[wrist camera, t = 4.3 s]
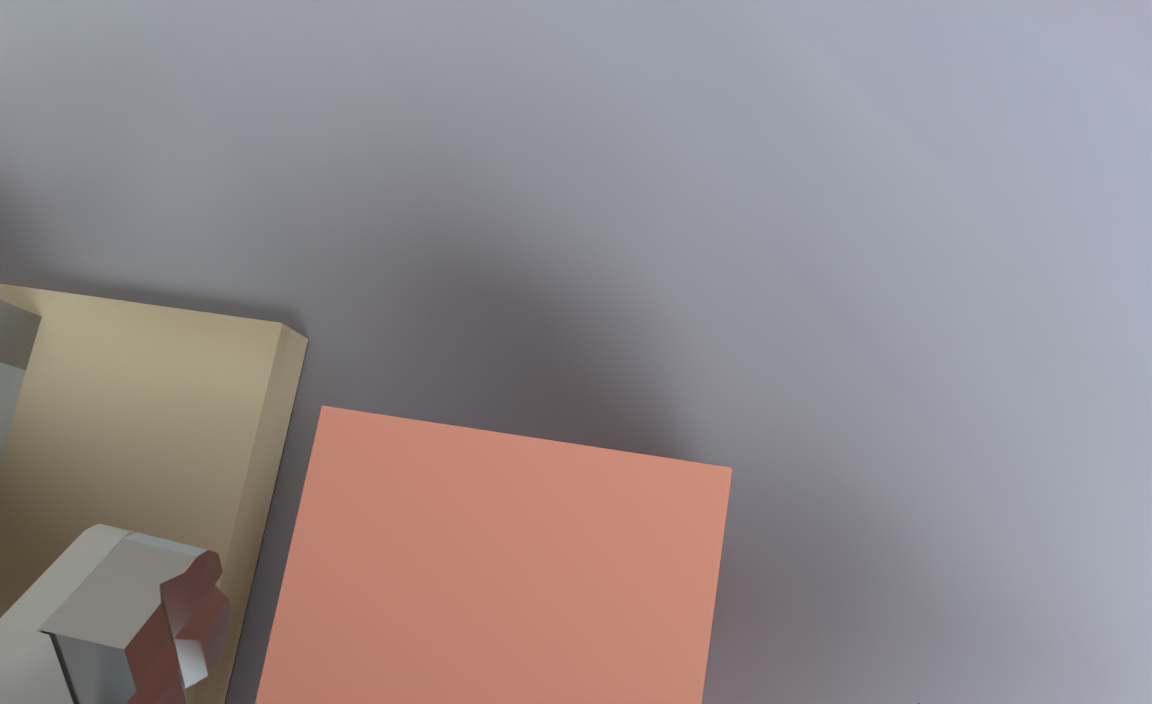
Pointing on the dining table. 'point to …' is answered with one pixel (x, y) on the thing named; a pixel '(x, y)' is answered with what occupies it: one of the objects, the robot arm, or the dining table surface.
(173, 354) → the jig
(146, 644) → the robot arm
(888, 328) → the dining table surface
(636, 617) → the salmon pink rectangular box
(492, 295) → the dining table surface
